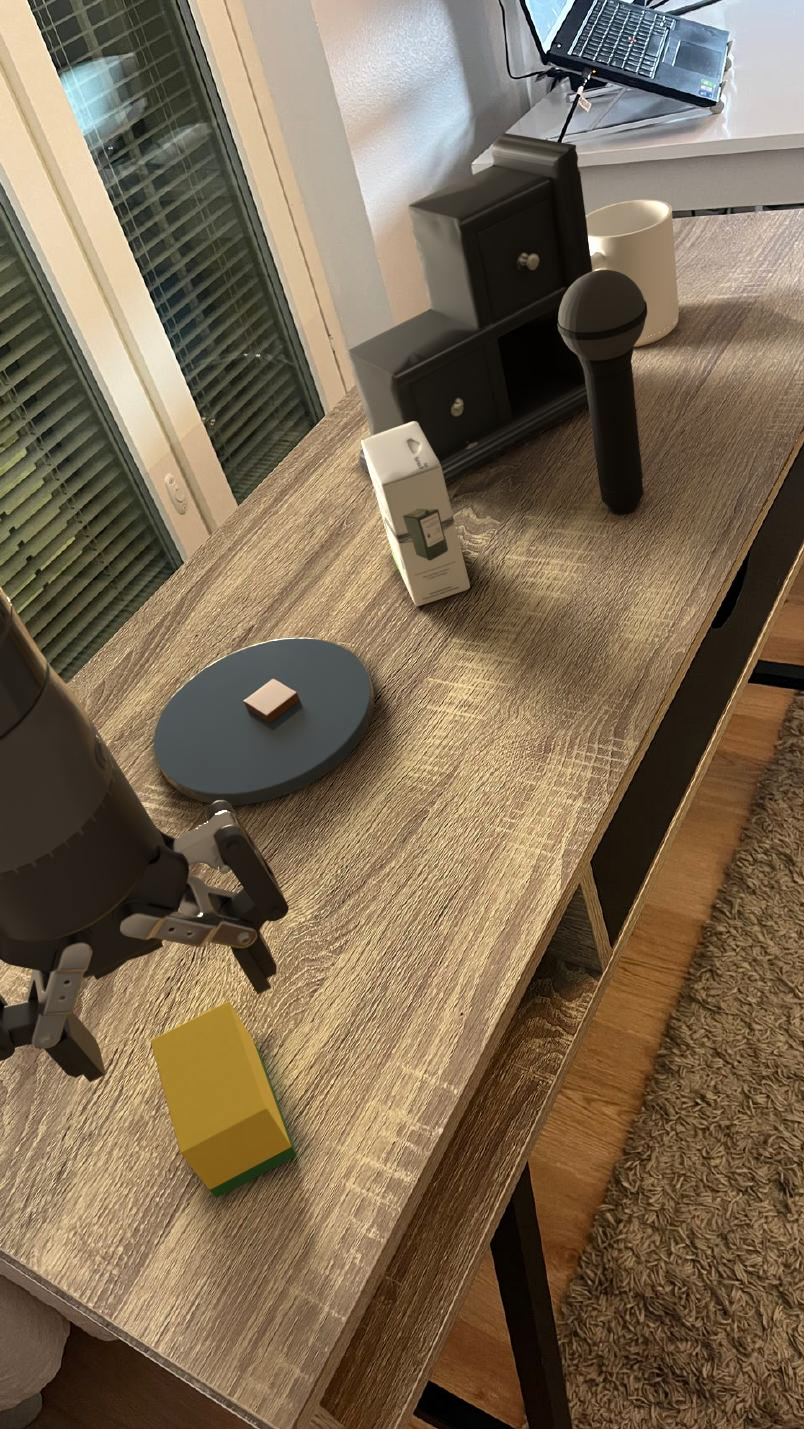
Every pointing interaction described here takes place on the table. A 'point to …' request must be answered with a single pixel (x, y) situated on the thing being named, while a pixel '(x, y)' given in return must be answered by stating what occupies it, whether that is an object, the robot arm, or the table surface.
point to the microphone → (609, 376)
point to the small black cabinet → (486, 311)
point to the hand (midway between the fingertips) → (178, 1020)
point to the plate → (264, 722)
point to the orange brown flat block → (271, 700)
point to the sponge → (221, 1100)
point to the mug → (639, 256)
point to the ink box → (416, 512)
